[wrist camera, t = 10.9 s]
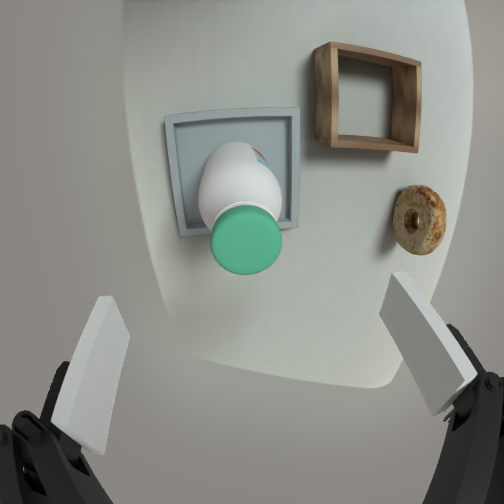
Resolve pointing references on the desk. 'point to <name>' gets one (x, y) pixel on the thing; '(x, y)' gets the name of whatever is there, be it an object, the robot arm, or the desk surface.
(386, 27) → the desk surface
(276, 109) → the tray
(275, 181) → the milk bottle
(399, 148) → the open wooden box frame
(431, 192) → the bagel
